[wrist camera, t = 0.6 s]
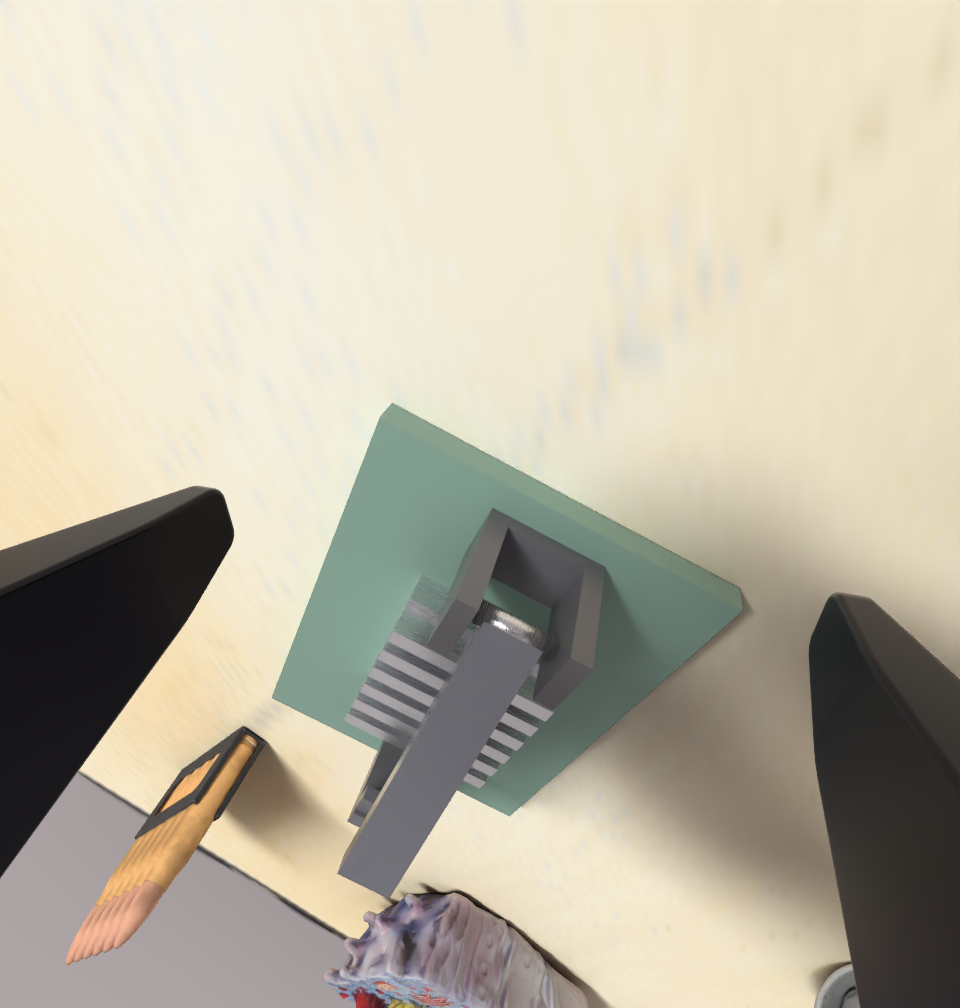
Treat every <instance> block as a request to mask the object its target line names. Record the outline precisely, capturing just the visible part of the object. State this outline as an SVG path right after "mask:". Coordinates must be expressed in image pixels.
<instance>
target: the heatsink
mask: <svg viewBox="0 0 960 1008" xmlns="http://www.w3.org/2000/svg"><path fill="white" fill-rule="evenodd" d="M449 590H450V588H448V587H446V586H444V585H442V584H440V583H438V582H436V581H434V580H432V579H430V578H428V577H426V576H425V575H423V574H422V575H421V577H420V579H419V581H418V582H417V584H416V586H415V588H414V590H413V592H412V593H411V595H410V597H409V599H408V601H407V602H406V604H405V606H404V608H403V610H402V611H401V613H400V615H399V617H398V619H397V621H396V622H395V624H394V626H393V628H392V630H391V631H390V633H389V635H388V637H387V639H386V641H385V642H384V644H383V646H382V648H381V650H380V651H379V653H378V655H377V657H376V659H375V660H374V662H373V664H372V666H371V668H370V670H369V671H368V673H367V675H366V677H365V679H364V681H363V683H362V685H361V687H360V689H359V691H358V693H357V695H356V697H355V699H354V701H353V703H352V705H351V707H350V709H349V711H348V713H347V715H346V717H345V719H344V721H345V722H347V723H349V724H351V725H353V726H355V727H357V728H359V729H361V730H363V731H365V732H367V733H369V734H371V735H373V736H375V737H377V738H379V739H381V740H383V741H385V742H387V743H389V744H391V745H393V746H395V747H397V748H399V749H401V750H403V751H404V750H405V749H406V747H407V745H408V743H409V742H410V740H411V738H412V737H413V735H414V733H415V731H416V730H417V728H418V726H419V724H420V723H421V721H422V719H423V718H424V716H425V714H426V712H427V711H428V709H429V707H430V706H431V704H432V702H433V700H434V699H435V697H436V695H437V693H438V692H439V690H440V688H441V687H442V685H443V683H444V681H445V680H446V678H447V676H448V674H449V673H450V671H451V669H452V668H453V666H454V664H455V662H456V661H457V659H458V657H459V655H460V654H461V652H462V650H463V649H464V647H465V645H466V643H467V642H468V640H469V638H470V636H471V635H472V633H473V631H474V630H475V628H476V626H475V625H473V624H471V623H470V624H469V626H468V627H467V629H466V630H465V631H464V633H463V634H462V636H461V637H460V639H459V640H458V642H457V643H456V645H455V646H454V648H453V649H452V651H451V652H450V653H449V655H448V656H445V655H443V654H441V653H439V652H438V651H436V650H434V649H432V648H430V647H428V646H426V644H427V642H428V640H429V637H430V635H431V633H432V630H433V628H434V626H435V623H436V621H437V619H438V616H439V614H440V611H441V609H442V607H443V604H444V602H445V600H446V597H447V595H448V593H449ZM540 661H541V659H538V661H537V662H536V664H535V666H534V667H533V669H532V670H531V672H530V674H529V675H528V677H527V678H526V680H525V682H524V683H523V685H522V686H521V688H520V690H519V691H518V693H517V694H516V696H515V698H514V699H513V701H512V702H511V704H510V706H509V707H508V709H507V710H506V712H505V714H504V715H503V717H502V718H501V720H500V722H499V723H498V725H497V726H496V728H495V730H494V731H493V733H492V734H491V736H490V738H489V739H488V741H487V742H486V744H485V746H484V747H483V749H482V750H481V752H480V754H479V755H478V757H477V758H476V760H475V762H474V763H473V765H472V766H471V768H470V770H469V771H468V773H467V774H466V776H465V778H464V779H463V781H465V782H467V783H469V784H471V785H473V786H475V787H477V788H479V789H480V788H481V787H482V786H483V785H484V784H485V783H486V780H487V776H488V775H489V776H492V775H493V774H494V773H495V772H496V771H497V770H498V767H499V763H502V764H504V763H505V762H506V761H507V760H508V759H509V758H510V757H511V753H512V749H514V750H516V751H517V750H518V749H519V748H520V747H521V746H522V745H523V744H524V741H525V736H526V735H528V736H530V737H531V736H532V735H533V734H534V733H535V732H536V731H537V730H538V728H539V723H540V719H541V720H543V721H545V722H546V721H547V720H548V719H549V718H550V716H551V715H552V714H553V713H554V710H551V709H549V708H547V707H545V706H543V705H541V704H539V703H537V702H535V701H534V700H532V698H533V694H534V689H535V684H536V680H537V675H538V670H539V666H540Z"/></svg>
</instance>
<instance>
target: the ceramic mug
mask: <svg viewBox="0 0 960 1008" xmlns="http://www.w3.org/2000/svg"><path fill="white" fill-rule="evenodd" d="M814 1008H860V1005H859V1000H858V994H857V989H856V984H855V978H854V973H853V967H852V964H849V965H846V966H843V967H841V968H839V969H838V970H836V971H835V972H833V973H832V974H831V975H830V976H829V977H828V978H827V979H826V980H825V982H824V983H823V985H822V986H821V988H820V990H819V993H818V995H817V998H816V1001H815V1005H814Z"/></svg>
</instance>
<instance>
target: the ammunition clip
mask: <svg viewBox="0 0 960 1008" xmlns="http://www.w3.org/2000/svg"><path fill="white" fill-rule="evenodd" d="M265 743H266V742H265V741H263V740H262V739H261V738H259V737H258V736H256V735H255V734H253V733H252V732H251V731H249V730H248V729H246V728H245V727H243V726H242V727H241V728H239V729H238V730H236V731H235V732H234V733H232V734H231V735H230V736H228V737H227V738H225V739H224V740H223V741H221V742H220V743H218V744H217V745H216V746H214V747H213V748H212V749H210V750H209V751H207V752H206V753H205V754H203V755H202V756H200V757H199V758H198V759H196V760H195V761H193V762H192V763H191V764H189V765H188V766H187V767H185V768H184V769H182V770H181V772H180V773H179V775H178V776H177V777H176V779H175V780H174V782H173V783H172V785H171V786H170V788H169V789H168V790H167V792H166V793H165V795H164V796H163V798H162V799H161V800H160V802H159V803H158V805H157V806H156V808H155V809H154V810H153V812H152V813H151V815H150V816H149V818H148V819H147V821H146V822H145V824H144V825H143V826H142V828H141V829H140V831H139V832H138V833H137V835H136V836H135V839H136V841H135V843H134V844H133V846H132V847H131V848H130V850H129V851H128V853H127V854H126V856H125V857H124V859H123V860H122V861H121V863H120V864H119V866H118V867H117V869H116V870H115V871H114V873H113V875H112V876H111V878H110V879H109V881H108V883H107V885H106V887H105V890H104V892H103V893H102V895H101V896H100V898H99V899H98V901H97V902H96V904H95V906H94V908H93V909H92V911H91V912H90V914H89V915H88V917H87V918H86V920H85V921H84V923H83V925H82V926H81V928H80V930H79V931H78V933H77V935H76V937H75V939H74V941H73V943H72V946H71V948H70V950H69V953H68V955H67V959H66V965H69V964H71V963H72V962H73V961H75V962H78V961H80V960H81V959H82V958H84V959H87V958H89V957H90V956H91V955H94V956H97V955H98V954H99V953H101V952H102V951H103V952H105V953H106V952H108V951H109V950H110V949H112V948H113V947H114V948H115V949H118V948H119V947H120V946H122V944H124V943H125V942H126V941H127V940H128V939H129V938H130V937H131V936H132V935H133V934H134V933H135V932H136V930H138V928H139V927H140V926H141V925H142V924H143V922H144V921H145V920H146V918H147V917H148V916H149V914H150V913H151V912H152V910H153V909H154V908H155V906H156V904H157V903H158V901H159V900H160V898H161V897H162V895H163V893H164V892H165V891H166V890H167V888H168V887H169V885H170V884H171V882H172V881H173V880H174V878H175V877H176V875H177V874H178V873H179V872H180V871H181V870H182V869H183V867H184V866H185V865H186V864H187V862H188V861H189V859H190V857H191V856H192V854H193V853H194V851H195V849H196V848H197V846H198V845H199V843H200V841H201V840H202V838H203V837H204V835H205V833H206V832H207V830H208V828H209V827H210V825H211V824H212V822H213V821H215V820H217V819H219V818H220V816H221V815H222V813H223V811H224V810H225V808H226V806H227V805H228V803H229V802H230V800H231V798H232V797H233V795H234V794H235V792H236V790H237V789H238V787H239V785H240V784H241V782H242V781H243V779H244V777H245V776H246V774H247V772H248V771H249V769H250V768H251V766H252V764H253V763H254V761H255V759H256V758H257V756H258V755H259V753H260V751H261V750H262V748H263V746H264V745H265Z"/></svg>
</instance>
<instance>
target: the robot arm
mask: <svg viewBox="0 0 960 1008" xmlns="http://www.w3.org/2000/svg"><path fill="white" fill-rule="evenodd" d="M233 539H234V528H233V525H232V521H231V518H230V515H229V511H228V508H227V504H226V501H225V498H224V495H223V494H222V493H221V492H220V491H219V490H217V489H215V488H209V487H203V486H192V487H189V488H186V489H183V490H180V491H177V492H174V493H171V494H168V495H165V496H162V497H159V498H156V499H153V500H150V501H147V502H144V503H141V504H138V505H135V506H132V507H129V508H126V509H123V510H120V511H117V512H114V513H111V514H108V515H105V516H102V517H99V518H96V519H93V520H90V521H87V522H84V523H81V524H78V525H75V526H72V527H69V528H66V529H63V530H60V531H57V532H54V533H51V534H48V535H45V536H42V537H39V538H36V539H33V540H30V541H27V542H24V543H21V544H18V545H15V546H12V547H9V548H6V549H3V550H0V878H1V876H2V875H3V874H4V872H5V871H6V870H7V868H8V867H9V866H10V864H11V863H12V861H13V860H14V859H15V857H16V856H17V855H18V853H19V852H20V850H21V849H22V848H23V846H24V845H25V844H26V842H27V841H28V839H29V838H30V837H31V835H32V834H33V832H34V831H35V830H36V828H37V827H38V826H39V824H40V823H41V821H42V820H43V818H44V817H45V816H46V815H47V813H48V812H49V810H50V809H51V808H52V806H53V805H54V803H55V802H56V801H57V799H58V798H59V796H60V795H61V794H62V793H63V791H64V790H65V788H66V787H67V786H68V784H69V783H70V782H71V780H72V779H73V777H74V776H75V775H76V773H77V772H78V771H79V769H80V768H81V766H82V765H83V764H84V762H85V761H86V760H87V758H88V757H89V755H90V754H91V753H92V751H93V750H94V748H95V747H96V746H97V744H98V743H99V742H100V740H101V739H102V737H103V736H104V735H105V733H106V732H107V731H108V729H109V728H110V726H111V725H112V724H113V722H114V721H115V720H116V718H117V717H118V715H119V714H120V713H121V711H122V710H123V709H124V707H125V706H126V704H127V703H128V702H129V700H130V699H131V698H132V696H133V695H134V693H135V692H136V691H137V689H138V688H139V687H140V685H141V684H142V682H143V681H144V680H145V678H146V677H147V675H148V674H149V673H150V671H151V670H152V669H153V667H154V666H155V664H156V663H157V662H158V660H159V659H160V658H161V656H162V655H163V653H164V652H165V651H166V649H167V648H168V647H169V645H170V644H171V642H172V641H173V640H174V638H175V637H176V636H177V634H178V633H179V631H180V630H181V628H182V627H183V626H184V624H185V623H186V621H187V620H188V618H189V616H190V615H191V613H192V612H193V610H194V608H195V607H196V605H197V603H198V602H199V600H200V598H201V596H202V595H203V593H204V591H205V590H206V588H207V586H208V584H209V583H210V581H211V579H212V578H213V576H214V574H215V573H216V571H217V569H218V567H219V566H220V564H221V562H222V561H223V559H224V557H225V555H226V554H227V552H228V550H229V549H230V547H231V545H232V542H233ZM809 667H810V685H811V703H812V721H813V739H814V753H815V764H816V770H817V777H818V783H819V788H820V794H821V799H822V805H823V810H824V816H825V821H826V826H827V832H828V837H829V843H830V848H831V854H832V859H833V864H834V870H835V875H836V881H837V886H838V891H839V897H840V902H841V908H842V913H843V919H844V924H845V929H846V935H847V940H848V946H849V951H850V956H851V962H852V967H853V973H854V978H855V984H856V989H857V994H858V1000H859V1005H860V1008H960V679H958V678H957V677H956V676H955V675H954V674H953V673H952V672H951V671H950V670H949V669H948V668H946V667H945V666H944V665H943V664H942V663H941V662H940V661H939V660H938V659H937V658H935V657H934V656H933V655H932V654H931V653H930V652H929V651H928V650H927V649H926V648H924V647H923V646H922V645H921V644H920V643H919V642H918V641H917V640H916V639H915V638H914V637H912V636H911V635H910V634H909V633H908V632H907V631H906V630H905V629H904V628H903V627H901V626H900V625H899V624H898V623H897V622H896V621H895V620H894V619H893V618H892V617H891V616H889V615H888V614H887V613H886V612H885V611H884V610H883V609H882V608H881V607H880V606H878V605H877V604H876V603H875V602H874V601H873V600H871V599H870V598H867V597H864V596H858V595H852V594H846V593H840V592H837V593H834V594H832V595H831V596H830V597H829V598H828V600H827V602H826V604H825V607H824V609H823V611H822V613H821V616H820V618H819V620H818V623H817V625H816V627H815V630H814V632H813V634H812V637H811V640H810V645H809Z"/></svg>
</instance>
